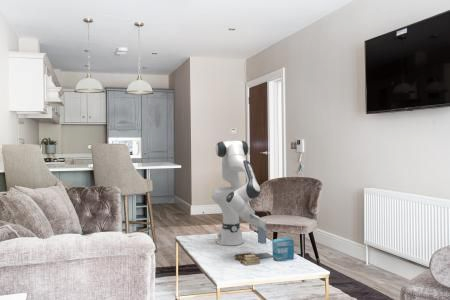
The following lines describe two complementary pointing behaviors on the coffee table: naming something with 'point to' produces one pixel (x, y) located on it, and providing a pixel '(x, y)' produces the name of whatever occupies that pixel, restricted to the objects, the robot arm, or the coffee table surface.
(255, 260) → the offcut stack
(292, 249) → the data package
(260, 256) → the felt mat
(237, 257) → the rack
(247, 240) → the coffee table surface
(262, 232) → the pale blue pillar
